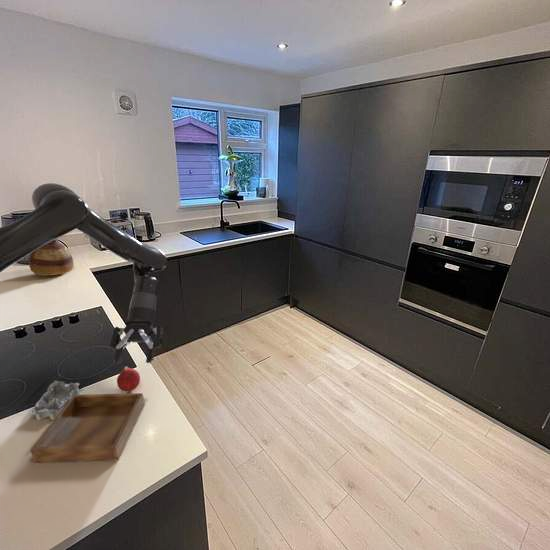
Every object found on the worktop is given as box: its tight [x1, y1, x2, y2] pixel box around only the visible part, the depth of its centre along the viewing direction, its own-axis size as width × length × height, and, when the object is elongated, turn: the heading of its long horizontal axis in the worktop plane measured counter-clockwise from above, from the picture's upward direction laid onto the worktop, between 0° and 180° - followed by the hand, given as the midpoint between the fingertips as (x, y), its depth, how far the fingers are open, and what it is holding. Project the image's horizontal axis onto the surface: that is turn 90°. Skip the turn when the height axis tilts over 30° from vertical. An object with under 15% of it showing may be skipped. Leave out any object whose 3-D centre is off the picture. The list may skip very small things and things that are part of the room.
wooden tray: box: [29, 392, 146, 464], centre depth 69 cm, size 18×16×4 cm
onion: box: [116, 366, 141, 392], centre depth 81 cm, size 6×6×8 cm
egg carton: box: [29, 379, 81, 421], centre depth 76 cm, size 11×8×4 cm
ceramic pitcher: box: [28, 238, 75, 277], centre depth 157 cm, size 20×20×30 cm
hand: (133, 362), depth 84 cm, fingers open, 8 cm apart
